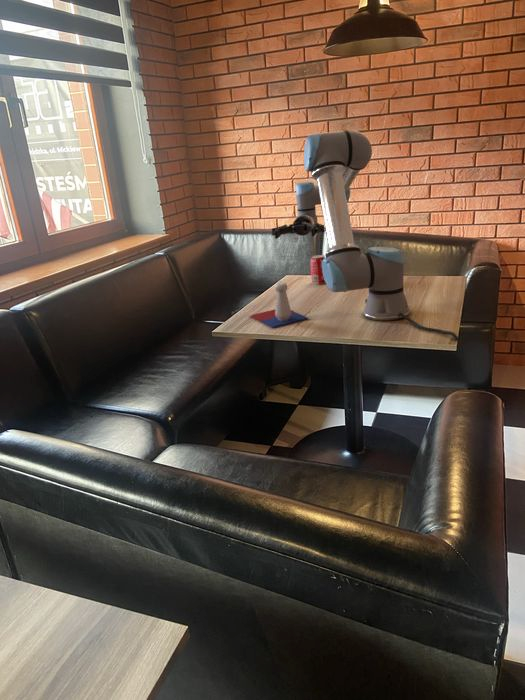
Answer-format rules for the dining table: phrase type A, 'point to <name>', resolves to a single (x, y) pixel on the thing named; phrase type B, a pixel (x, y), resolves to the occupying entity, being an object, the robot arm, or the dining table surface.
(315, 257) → the soda can
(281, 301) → the salt shaker
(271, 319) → the sorting mat
